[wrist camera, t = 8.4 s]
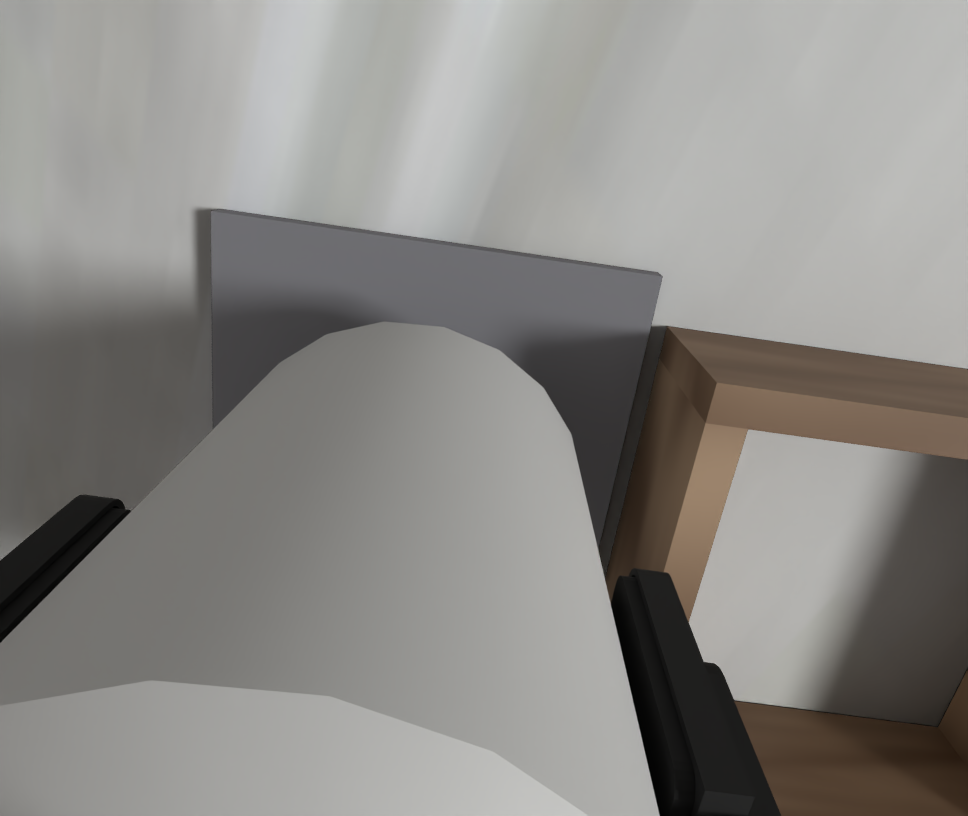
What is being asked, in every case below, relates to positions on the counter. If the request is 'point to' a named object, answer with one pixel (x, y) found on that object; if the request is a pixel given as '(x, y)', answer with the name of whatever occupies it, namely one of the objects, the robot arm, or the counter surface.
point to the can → (340, 612)
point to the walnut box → (696, 515)
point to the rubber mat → (436, 316)
